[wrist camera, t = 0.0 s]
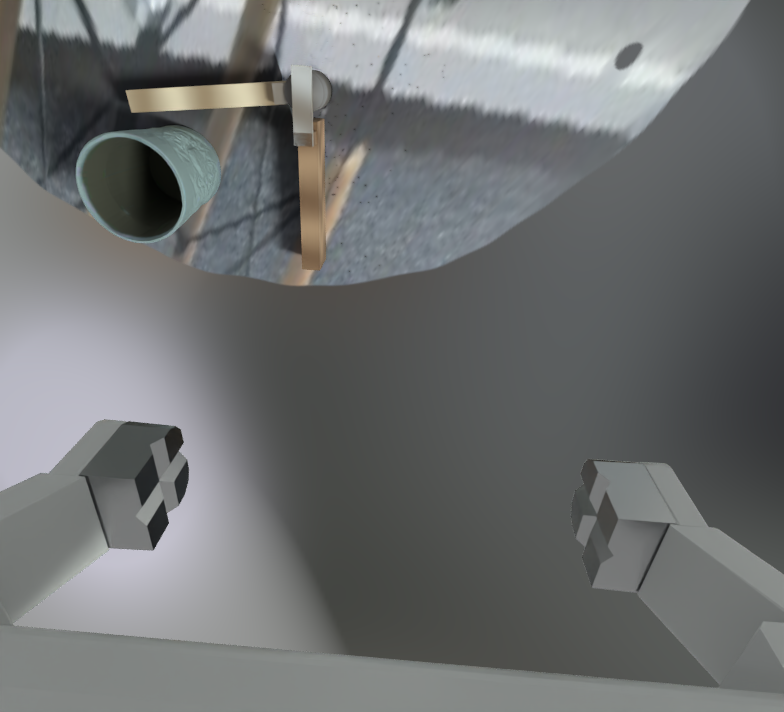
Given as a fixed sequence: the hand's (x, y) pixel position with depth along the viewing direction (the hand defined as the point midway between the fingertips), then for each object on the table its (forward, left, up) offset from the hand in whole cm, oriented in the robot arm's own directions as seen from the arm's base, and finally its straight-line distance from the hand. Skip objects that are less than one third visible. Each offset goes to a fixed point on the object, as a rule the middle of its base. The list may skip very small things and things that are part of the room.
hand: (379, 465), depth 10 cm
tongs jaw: (-4, -11, -51) cm, 52 cm away
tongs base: (-4, -11, -51) cm, 52 cm away
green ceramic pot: (+4, -26, -51) cm, 57 cm away
